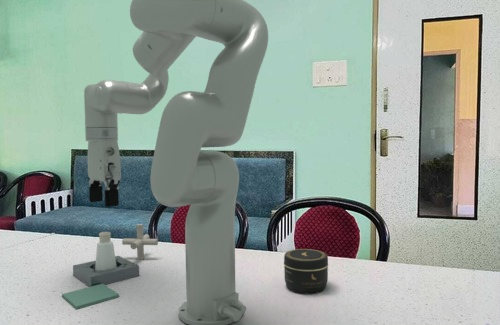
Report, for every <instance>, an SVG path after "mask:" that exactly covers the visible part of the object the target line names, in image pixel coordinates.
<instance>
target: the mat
mask: <svg viewBox="0 0 500 325" xmlns="http://www.w3.org/2000/svg"><path fill="white" fill-rule="evenodd" d="M61 298H63V299H64V300H65V301H66V302H68V304H70V305H71V306H72V307H73V308H74V309H76V310H79V309H83V308H87V307H89V306H92V305H96V304H101V303H103V302H107V301H110V300H114V299H116V298H120V293H118V292H116V291H115V290H114V289H112V288H111V287H109V286H108V285H107V284H106V285H104V284H99V285H95V286H91V287H89V286H86V287H84V288H80V289H77V290H73V291H68V292H64V293H61Z"/></svg>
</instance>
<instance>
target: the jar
mask: <svg viewBox="0 0 500 325" xmlns="http://www.w3.org/2000/svg"><path fill="white" fill-rule="evenodd" d="M283 265H284V266H283V268H284V270H283V271H284V282H285V286H286V287H287V289H288V290H289V291H291V292H294V293H297V294H303V295H314V294H320V293H322V292H323V291H325V290H326V288H327V284H328V275H329V273H328V272H329V268H328V266H329V258H328V255H327V253H326V252H324V251H322V250H319V249H318V250H317V249H312V248H296V249H291V250H289V251H286V252H285V253H284V256H283Z"/></svg>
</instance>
